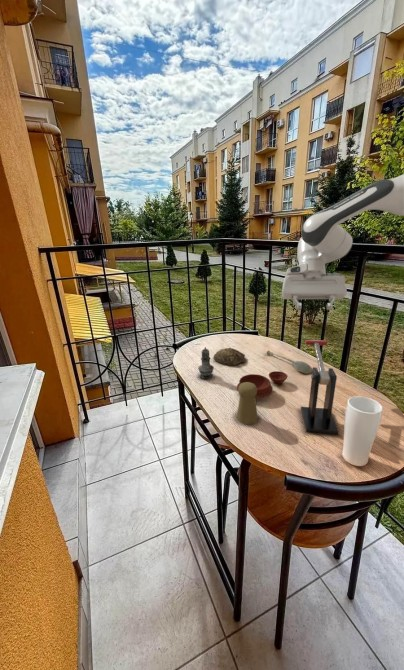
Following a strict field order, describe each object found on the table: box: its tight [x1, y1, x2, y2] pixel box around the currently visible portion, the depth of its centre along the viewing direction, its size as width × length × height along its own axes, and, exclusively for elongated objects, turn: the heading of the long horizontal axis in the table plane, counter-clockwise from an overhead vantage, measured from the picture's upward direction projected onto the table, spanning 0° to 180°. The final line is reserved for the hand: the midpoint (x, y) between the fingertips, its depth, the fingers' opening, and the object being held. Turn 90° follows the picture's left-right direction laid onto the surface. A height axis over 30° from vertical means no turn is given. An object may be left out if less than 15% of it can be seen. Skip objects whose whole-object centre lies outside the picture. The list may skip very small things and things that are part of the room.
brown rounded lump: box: [213, 347, 246, 366], centre depth 118 cm, size 13×12×5 cm
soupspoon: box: [266, 350, 313, 375], centre depth 113 cm, size 22×3×7 cm
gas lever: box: [304, 339, 330, 386], centre depth 79 cm, size 16×6×2 cm, turn 169°
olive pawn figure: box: [236, 382, 258, 425], centre depth 80 cm, size 6×6×11 cm
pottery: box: [236, 370, 288, 399], centre depth 95 cm, size 12×20×4 cm, turn 123°
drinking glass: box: [341, 395, 383, 467], centre depth 63 cm, size 7×7×15 cm
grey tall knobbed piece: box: [197, 347, 215, 381], centre depth 103 cm, size 6×6×12 cm
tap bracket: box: [300, 367, 339, 436], centre depth 76 cm, size 10×8×16 cm
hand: (314, 309), depth 91 cm, fingers open, 8 cm apart
